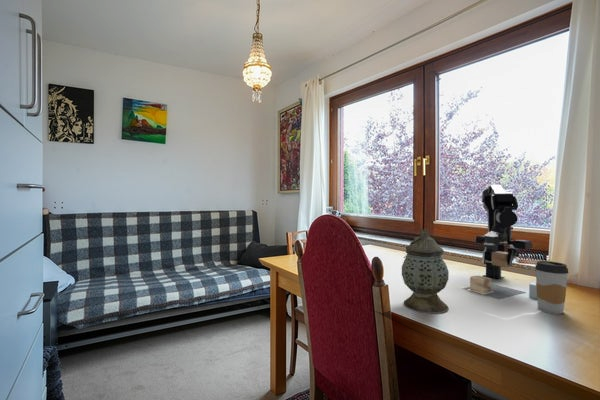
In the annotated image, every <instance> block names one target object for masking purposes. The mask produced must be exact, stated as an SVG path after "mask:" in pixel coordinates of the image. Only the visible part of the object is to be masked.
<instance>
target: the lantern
mask: <svg viewBox="0 0 600 400" xmlns="http://www.w3.org/2000/svg"><path fill="white" fill-rule="evenodd" d="M413 238H414V239H413V241H411V242H410V244H409V245H407V246H405V250H406V251H405V253H406V254H405V256H403V259H404V260H403V262H402V265H401V277H402V280H403V283H404V285H405V286H406V287H407V288H408V289H409V290H410V291H411V292H412V294H411V295H410V296H409V297H408V298H406V299H405V300H404V301H403V303H404V305H403V306H405V307H406V308H407V309H409V310H410V311H411V310H412V311H414V312H417V313H423V314H428V315H429V314H430V315H440V314H445V313H448V311H449V306H448V305H447V304H446V302H444V300H442V299H441V298H440V297H439V294H438V293H440V292H441V291H442V290H444V289H445V288H446V285H447V283H448V281H449V274H450V273H449V269H448V266H447V264H446V262H445V261H444V259H443V258H442V256H443V255H444V252H445V251H444V249H443V248H442V247H441V246H440V245H439V244H438V243H437V242H436V240H435V239H434V238H433V237H431V236H430V232H429V230H427V229H422V230H421V232H420V234H419V236H416V237H413Z"/></svg>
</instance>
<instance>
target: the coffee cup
mask: <svg viewBox="0 0 600 400" xmlns="http://www.w3.org/2000/svg"><path fill="white" fill-rule="evenodd" d="M534 266H535V267H534V269H535V282H536V289H537V298H536V299H537V307H538V309H540V310H541V311H542V312H543V313H544V312H546V313H549V314H554V315H555V314H556V315H561V314H563V312H565V303H566V297H567V296H566V295H567V283H568V281H567V280H568V274H569V268H568V267H567V264H566V263H561V262H557V261H548V260H547V261H546V260H537V261H536V264H535V265H534Z"/></svg>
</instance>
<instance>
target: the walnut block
mask: <svg viewBox="0 0 600 400" xmlns="http://www.w3.org/2000/svg"><path fill="white" fill-rule="evenodd" d="M492 265H495V266H500V267H501V268H509V267H513V262H512V263H511V265H508V252H507V251H505V252H500V251H498V252H492Z"/></svg>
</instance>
